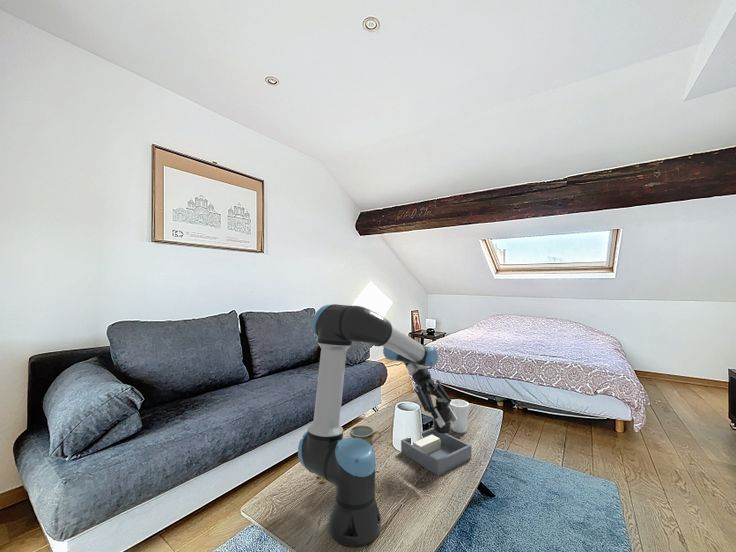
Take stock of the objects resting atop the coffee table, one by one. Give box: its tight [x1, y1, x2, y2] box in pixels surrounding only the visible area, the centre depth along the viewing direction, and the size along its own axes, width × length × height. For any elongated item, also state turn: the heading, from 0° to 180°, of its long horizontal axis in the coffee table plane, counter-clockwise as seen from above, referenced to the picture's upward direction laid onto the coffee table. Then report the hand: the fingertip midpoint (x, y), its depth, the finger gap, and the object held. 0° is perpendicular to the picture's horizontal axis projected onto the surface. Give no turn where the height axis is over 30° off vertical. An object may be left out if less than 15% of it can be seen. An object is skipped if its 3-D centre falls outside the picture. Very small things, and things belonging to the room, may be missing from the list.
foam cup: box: [449, 399, 470, 434], centre depth 154 cm, size 10×9×13 cm
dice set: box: [317, 475, 327, 483], centre depth 116 cm, size 5×5×2 cm
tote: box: [400, 427, 472, 477], centre depth 129 cm, size 20×20×6 cm
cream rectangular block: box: [413, 435, 441, 454], centre depth 133 cm, size 12×5×4 cm, turn 126°
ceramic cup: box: [349, 424, 382, 447], centre depth 132 cm, size 13×10×10 cm
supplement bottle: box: [432, 397, 452, 434], centre depth 126 cm, size 7×7×12 cm
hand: (449, 423), depth 123 cm, fingers closed on supplement bottle, 7 cm apart
